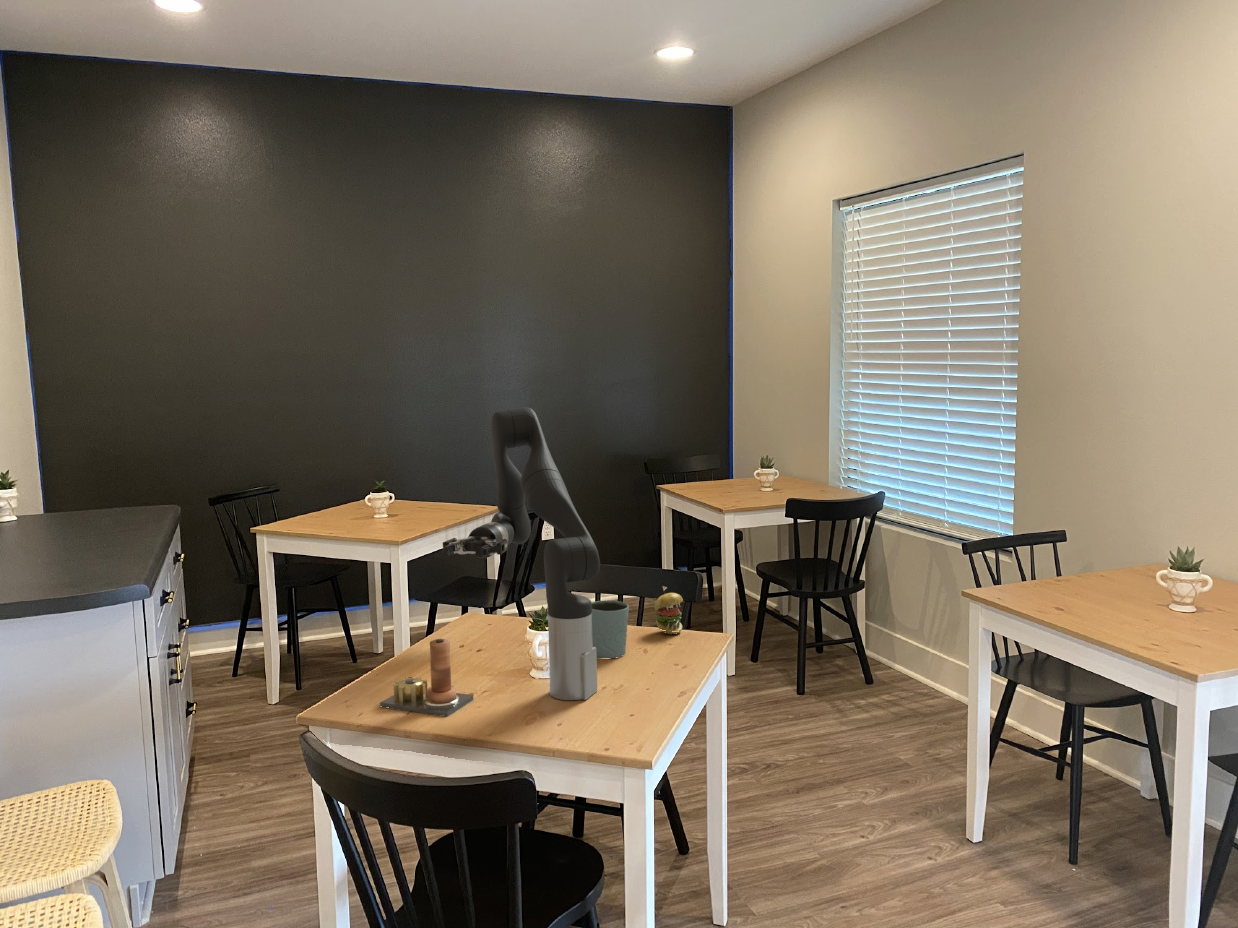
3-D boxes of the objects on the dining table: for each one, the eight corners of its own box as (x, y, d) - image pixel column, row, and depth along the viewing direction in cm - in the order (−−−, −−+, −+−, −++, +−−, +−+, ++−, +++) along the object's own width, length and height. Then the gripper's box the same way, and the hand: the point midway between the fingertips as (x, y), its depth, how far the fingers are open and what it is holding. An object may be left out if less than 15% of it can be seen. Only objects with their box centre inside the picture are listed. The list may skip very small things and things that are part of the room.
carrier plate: (473, 699, 190) (473, 693, 190) (447, 716, 181) (447, 710, 181) (408, 691, 196) (408, 685, 196) (380, 707, 187) (380, 700, 187)
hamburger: (668, 638, 232) (668, 592, 231) (648, 632, 237) (648, 587, 236) (689, 632, 237) (688, 586, 236) (669, 626, 242) (668, 582, 241)
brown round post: (462, 695, 189) (460, 637, 188) (446, 705, 183) (444, 645, 182) (437, 692, 191) (435, 634, 190) (420, 701, 185) (418, 642, 184)
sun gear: (433, 692, 192) (433, 677, 191) (415, 703, 185) (414, 687, 185) (406, 689, 194) (405, 673, 194) (387, 700, 188) (386, 684, 188)
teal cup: (589, 647, 225) (588, 600, 224) (630, 647, 225) (629, 599, 223) (586, 660, 215) (585, 610, 214) (629, 660, 214) (628, 610, 213)
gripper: (460, 523, 221) (433, 535, 205) (516, 524, 218) (493, 536, 202) (461, 554, 222) (434, 567, 206) (517, 555, 219) (494, 569, 203)
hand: (464, 552), depth 204 cm, fingers open, 8 cm apart
